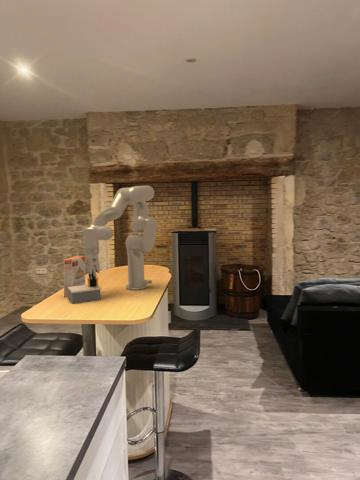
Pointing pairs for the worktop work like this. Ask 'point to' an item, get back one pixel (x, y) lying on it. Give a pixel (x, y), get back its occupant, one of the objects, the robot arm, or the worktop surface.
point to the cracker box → (73, 272)
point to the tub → (84, 296)
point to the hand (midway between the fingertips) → (92, 286)
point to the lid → (84, 287)
